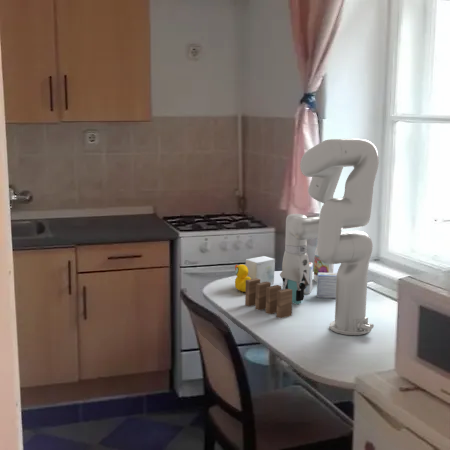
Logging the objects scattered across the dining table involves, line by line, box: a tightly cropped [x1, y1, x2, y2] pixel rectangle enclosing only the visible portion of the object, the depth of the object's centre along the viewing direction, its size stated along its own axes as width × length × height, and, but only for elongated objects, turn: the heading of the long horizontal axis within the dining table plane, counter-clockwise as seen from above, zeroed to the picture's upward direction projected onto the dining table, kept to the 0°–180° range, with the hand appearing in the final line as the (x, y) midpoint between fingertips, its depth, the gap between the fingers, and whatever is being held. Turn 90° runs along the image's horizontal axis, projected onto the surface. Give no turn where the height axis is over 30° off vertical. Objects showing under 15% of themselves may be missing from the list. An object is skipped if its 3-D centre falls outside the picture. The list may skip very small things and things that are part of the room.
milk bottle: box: [313, 246, 335, 282], centre depth 277 cm, size 8×8×20 cm
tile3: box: [254, 282, 272, 311], centre depth 240 cm, size 2×5×9 cm, turn 128°
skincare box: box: [244, 255, 276, 286], centre depth 270 cm, size 10×6×10 cm, turn 132°
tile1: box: [276, 289, 293, 319], centre depth 232 cm, size 2×5×9 cm, turn 128°
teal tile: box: [288, 280, 302, 305], centre depth 248 cm, size 2×5×9 cm, turn 37°
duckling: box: [234, 263, 251, 293], centre depth 261 cm, size 11×5×10 cm, turn 25°
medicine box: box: [316, 272, 337, 299], centre depth 255 cm, size 8×4×9 cm, turn 84°
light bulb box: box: [281, 262, 314, 295], centre depth 262 cm, size 11×7×11 cm, turn 76°
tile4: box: [244, 278, 260, 307], centre depth 244 cm, size 2×5×9 cm, turn 128°
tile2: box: [265, 284, 282, 315], centre depth 236 cm, size 2×5×9 cm, turn 128°
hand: (294, 298), depth 248 cm, fingers closed on teal tile, 4 cm apart
